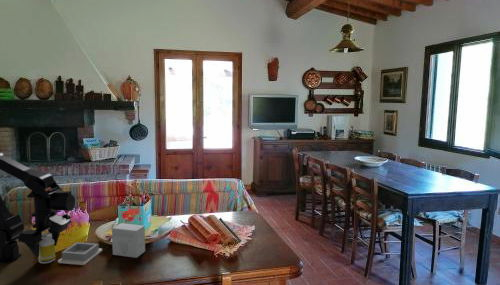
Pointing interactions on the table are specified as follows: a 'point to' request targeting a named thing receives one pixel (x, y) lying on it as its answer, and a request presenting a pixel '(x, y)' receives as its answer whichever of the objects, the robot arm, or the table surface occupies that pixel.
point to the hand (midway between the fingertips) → (46, 251)
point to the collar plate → (80, 253)
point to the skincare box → (128, 240)
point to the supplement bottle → (46, 249)
